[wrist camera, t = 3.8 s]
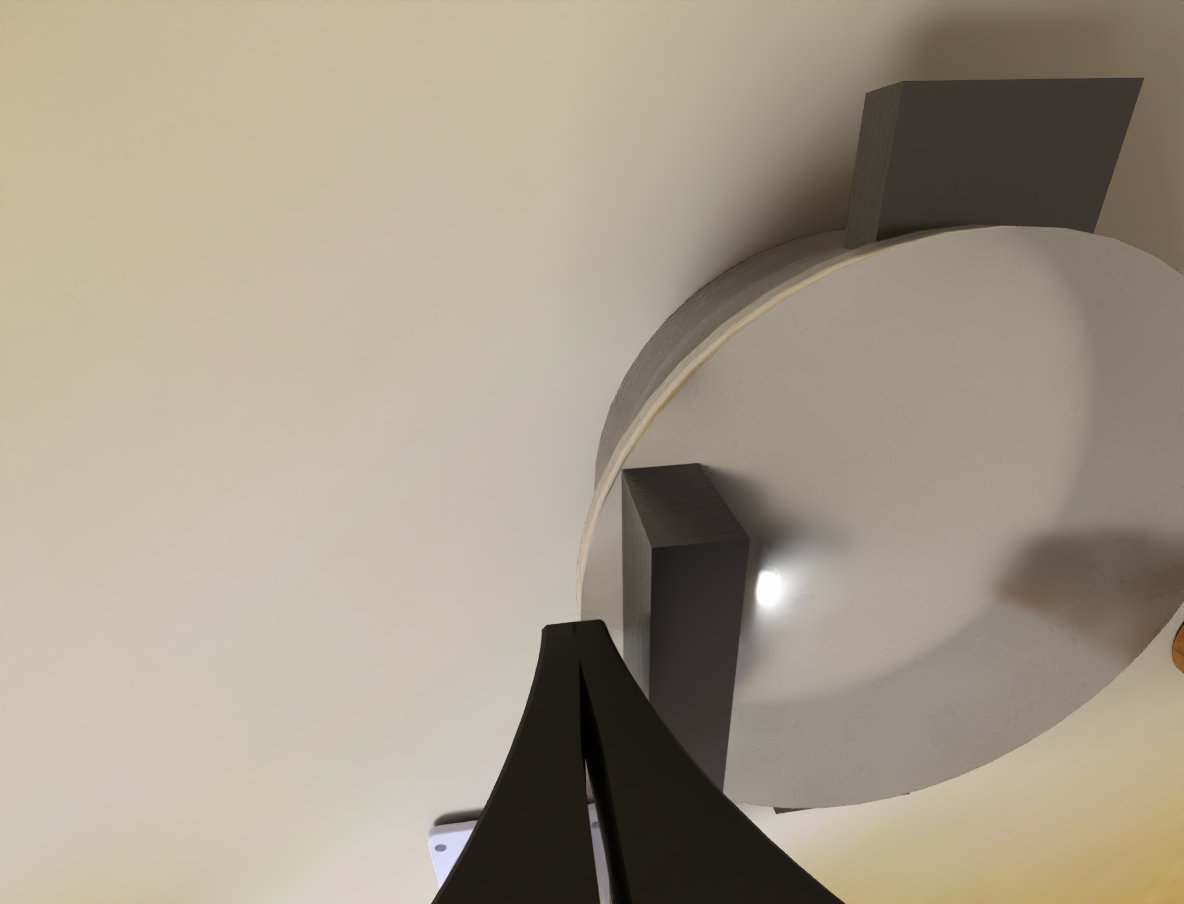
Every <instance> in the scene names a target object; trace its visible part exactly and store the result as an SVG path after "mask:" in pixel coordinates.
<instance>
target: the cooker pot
mask: <svg viewBox="0 0 1184 904" xmlns="http://www.w3.org/2000/svg"><path fill="white" fill-rule="evenodd" d="M1143 80H1144V78H1089V79H1020V80H950V81H902V82H899V83H896V84H893V85H890V86H887V87H883V88H880V89H877V90H874V91H871V92H868V93H866V98H865V104H864V111H863V117H862V124H861V131H860V137H859V144H858V151H857V157H856V164H855V170H854V177H853V184H852V190H851V197H850V203H849V210H848V217H847V223H846V230H837V231H829V232H822V233H819V234H815V235H811V236H807V237H803V238H799V239H796V240H792V241H789V242H786V243H784V244H781V245H779V246H776V247H774V248H771V249H769V250H766V251H764V252H761V253H759V254H756V255H754V256H753V257H751V258H749V259H747V260H746V261H744V262H742V263H740V264H738V265H737V266H735V267H733V268H731V269H730V270H728V271H726V272H724V273H723V274H721V275H720V276H719V277H717V278H716V279H714V280H713V281H712V282H710V283H709V284H708V285H706V286H705V287H704V288H702V289H701V290H699V291H698V292H697V293H695V294H694V295H693V296H692V297H691V298H690V299H689V300H687V301H686V302H685V303H684V304H683V305H682V306H681V307H680V308H679V309H678V310H677V311H676V312H675V313H674V314H673V315H672V316H670V317H669V318H668V319H667V320H666V321H665V323H664V324H663V325H662V326H661V327H660V329H659V330H658V331H657V332H656V333H655V335H654V336H653V337H652V338H651V339H650V341H649V342H648V343H647V344H646V345H645V347H644V348H643V349H642V351H641V352H640V354H639V356H638V357H637V359H636V360H635V362H634V363H633V365H632V366H631V368H630V369H629V371H628V373H627V374H626V376H625V378H624V380H623V382H622V384H621V386H620V388H619V390H618V392H617V394H616V396H615V398H614V400H613V402H612V405H611V407H610V410H609V413H608V416H607V419H606V422H605V425H604V428H603V431H602V434H601V439H600V444H599V449H598V455H597V460H596V469H595V491H596V488H597V485H598V483H599V481H600V479H601V477H602V475H603V473H604V471H605V469H606V467H607V465H608V463H609V461H610V459H611V457H612V455H613V453H614V451H615V449H616V447H617V445H618V443H619V441H620V440H621V438H622V437H623V435H624V434H625V432H626V431H627V429H628V428H629V426H630V425H631V423H632V422H633V420H634V419H635V417H636V416H637V414H638V413H639V411H640V410H641V408H642V407H643V405H644V404H645V402H646V401H647V400H648V399H649V398H650V396H651V395H652V394H653V393H654V392H655V391H656V390H657V388H658V387H659V386H660V385H661V384H662V383H663V381H664V380H665V379H666V378H667V377H668V376H669V375H670V373H671V372H672V371H673V370H674V369H675V368H676V366H677V365H678V364H679V363H680V362H681V361H682V360H683V359H684V358H685V357H686V356H687V355H689V354H690V353H691V352H692V351H693V350H694V349H695V348H696V347H697V346H698V345H699V344H701V343H702V342H703V341H704V340H705V339H706V338H707V337H708V336H709V335H710V334H712V333H713V332H714V331H715V330H716V329H717V328H718V327H719V326H720V325H722V324H723V323H724V322H726V321H727V320H729V319H730V318H731V317H733V316H734V315H736V314H737V313H738V312H740V311H741V310H742V309H744V308H745V307H747V306H748V305H749V304H751V303H752V302H754V301H755V300H756V299H758V298H759V297H761V296H762V295H763V294H765V293H766V292H768V291H770V290H772V289H773V288H775V287H777V286H779V285H781V284H782V283H784V282H786V281H788V280H790V279H791V278H793V277H795V276H797V275H799V274H800V273H802V272H804V271H806V270H808V269H810V268H811V267H813V266H815V265H817V264H820V263H822V262H825V261H827V260H829V259H832V258H834V257H837V256H839V255H842V254H844V253H847V252H849V251H852V250H854V249H857V248H859V247H862V246H864V245H867V244H870V243H874V242H878V241H881V240H885V239H889V238H893V237H897V236H901V235H905V234H908V233H912V232H916V231H920V230H928V229H936V228H945V227H954V226H962V225H971V224H976V225H1004V226H1030V227H1052V228H1067V229H1072V230H1077V231H1082V232H1086V233H1091V234H1093V232H1094V229H1095V226H1096V223H1097V220H1098V217H1099V214H1100V211H1101V208H1102V205H1103V202H1104V199H1105V196H1106V193H1107V189H1108V186H1109V183H1110V180H1111V177H1112V174H1113V171H1114V168H1115V165H1116V162H1117V159H1118V156H1119V153H1120V150H1121V147H1122V144H1123V141H1124V138H1125V135H1126V132H1127V129H1128V125H1129V122H1130V119H1131V116H1132V113H1133V110H1134V107H1135V104H1136V101H1137V98H1138V95H1139V92H1140V89H1141V86H1142V83H1143ZM907 794H909V793H907ZM903 795H906V794H903ZM773 808H774V810H775V813H776V814H779V813H785V812H792V811H799V810H806V809H812V808H781V807H773Z"/></svg>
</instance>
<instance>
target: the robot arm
mask: <svg viewBox="0 0 1184 904" xmlns="http://www.w3.org/2000/svg"><path fill="white" fill-rule="evenodd" d="M585 759H586V764H587V769H588V774H589V779H590V784H591V789H592V794H593V798H594V803H593V804H588V803H587V795H586V766H585ZM428 845H429V849H430V853H431V857H432V861H433V864H434V868H435V872H436V876H437V880H438V884H439V888H440V890H439V891H438V893H437V895H436V897H435V898H434V900H433V902H432V903H431V904H610V898H609V884H610V893H611V901H612V904H845V903H844V902H843V901H841V900H840V899H839V898H838V897H836V896H835V895H834V894H833V893H831V892H830V891H829V890H828V889H826V888H825V887H824V886H823V885H822V884H820V883H819V882H818V881H817V880H816V879H815V878H813V877H812V876H811V875H810V874H809V873H807V872H806V871H805V870H804V869H803V868H802V867H800V866H799V865H798V864H797V863H796V862H795V861H794V860H792V859H791V858H790V857H789V856H788V855H787V854H786V853H785V852H784V851H782V850H781V849H780V848H779V847H778V846H777V845H776V844H775V843H774V842H772V841H771V840H770V839H769V838H768V837H767V836H766V835H765V834H764V833H763V832H762V831H761V830H760V829H759V828H758V827H757V826H756V825H755V824H754V823H753V822H752V821H751V820H750V819H749V818H748V817H747V816H746V815H745V814H744V813H743V812H742V811H741V810H740V809H739V808H738V807H737V806H736V805H735V804H734V803H733V802H732V801H731V800H730V799H729V798H728V797H727V796H726V795H725V794H724V793H723V792H722V791H721V790H720V789H719V788H718V787H717V786H716V785H715V783H714V782H713V781H712V780H711V779H710V778H709V777H708V776H707V775H706V774H705V772H704V771H703V770H702V769H701V768H700V767H699V765H698V764H697V763H696V762H695V761H694V760H693V758H692V757H691V756H690V755H689V754H688V753H687V751H686V750H685V749H684V748H683V746H682V745H681V744H680V743H679V741H678V740H677V739H676V738H675V736H674V735H673V734H672V732H671V731H670V730H669V728H668V727H667V726H666V724H665V723H664V722H663V720H662V719H661V718H660V716H659V715H658V714H657V712H656V711H655V709H654V708H653V706H652V705H651V704H650V702H649V701H648V699H647V698H646V696H645V695H644V693H643V691H642V690H641V688H640V687H639V685H638V684H637V682H636V681H635V679H634V678H633V676H632V674H631V673H630V671H629V669H628V668H627V666H626V664H625V662H624V661H623V659H622V657H621V655H620V654H619V652H618V650H617V648H616V646H615V644H614V642H613V640H612V638H611V636H610V633H609V631H608V629H607V626H606V623H605V622H604V621H602V620H601V619H595V620H586V621H577V622H569V623H560V624H551V625H546V626H545V627H544V628H543V629H542V639H541V647H540V653H539V659H538V663H537V667H536V672H535V676H534V680H533V683H532V686H531V690H530V693H529V697H528V700H527V703H526V707H525V710H524V713H523V716H522V719H521V721H520V724H519V727H518V729H517V732H516V735H515V738H514V740H513V743H512V746H511V748H510V751H509V753H508V756H507V758H506V761H505V763H504V766H503V768H502V770H501V773H500V775H499V777H498V779H497V782H496V784H495V786H494V788H493V790H492V793H491V795H490V797H489V799H488V801H487V803H486V805H485V807H484V809H483V811H482V813H481V815H480V817H479V819H478V820H474V821H467V822H460V823H453V824H446V825H439V826H435V827H433V828H432V829H431V830H430V831H429V834H428Z"/></svg>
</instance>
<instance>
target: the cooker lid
mask: <svg viewBox="0 0 1184 904" xmlns="http://www.w3.org/2000/svg"><path fill="white" fill-rule="evenodd" d="M576 600H577V607H578V615H579V621H586V620H595V619H601V620H602V621H604V622H605V623H606V626H607V629H608V631H609V633H610V636H611V638H612V640H613V642H614V644H615V646H616V648H617V650H618V652H619V654H620V655H621V657H622V659H623V661H624V662H625V664H626V666H627V668H628V669H629V671H630V673H631V674H632V676H633V678H634V679H635V681H636V682H637V684H638V685H639V687H640V688H641V690H642V691H643V693H644V695H645V696H646V698H647V699H648V701H649V702H650V704H651V705H652V706H653V708H654V709H655V711H656V712H657V714H658V715H659V716H660V718H661V719H662V720H663V722H664V723H665V724H666V726H667V727H668V728H669V730H670V731H671V732H672V734H673V735H674V736H675V738H676V739H677V740H678V741H679V743H680V744H681V745H682V746H683V748H684V749H685V750H686V751H687V753H688V754H689V755H690V756H691V757H692V758H693V760H694V761H695V762H696V763H697V764H698V765H699V767H700V768H701V769H702V770H703V771H704V772H705V774H706V775H707V776H708V777H709V778H710V779H711V780H712V781H713V782H714V783H715V785H716V786H717V787H718V788H719V789H720V790H721V791H722V792H723V793H724V794H725V795H726V796H727V797H728V798H729V799H730V800H732V801H737V802H742V803H748V804H753V805H758V806H768V807H781V808H828V807H837V806H846V805H856V804H861V803H867V802H872V801H877V800H882V799H888V798H892V797H896V796H899V795H903V794H907V793H910V792H914V791H918V790H921V789H925V788H927V787H930V786H933V785H936V784H939V783H941V782H944V781H947V780H950V779H953V778H955V777H958V776H960V775H963V774H965V773H967V772H969V771H972V770H974V769H976V768H979V767H981V766H983V765H985V764H988V763H990V762H992V761H994V760H996V759H998V758H999V757H1001V756H1003V755H1005V754H1007V753H1009V752H1011V751H1013V750H1015V749H1017V748H1018V747H1020V746H1022V745H1024V744H1026V743H1027V742H1029V741H1030V740H1032V739H1034V738H1035V737H1037V736H1038V735H1040V734H1042V733H1043V732H1045V731H1047V730H1048V729H1050V728H1051V727H1053V726H1055V725H1056V724H1057V723H1059V722H1060V721H1062V720H1063V719H1064V718H1066V717H1067V716H1068V715H1070V714H1071V713H1073V712H1074V711H1075V710H1077V709H1078V708H1080V707H1081V706H1082V705H1084V704H1085V703H1086V702H1087V701H1089V700H1090V699H1091V698H1092V697H1093V696H1095V695H1096V694H1097V693H1098V692H1099V691H1101V690H1102V689H1103V688H1104V687H1105V686H1107V685H1108V684H1109V683H1110V682H1111V681H1113V680H1114V679H1115V678H1116V677H1117V676H1118V675H1119V674H1120V673H1121V672H1122V671H1123V670H1124V669H1125V668H1126V667H1127V666H1128V665H1129V664H1130V663H1131V662H1132V661H1133V660H1134V659H1135V658H1136V657H1137V656H1139V655H1140V654H1141V653H1142V652H1143V650H1144V649H1145V648H1146V647H1147V646H1148V645H1149V644H1150V642H1151V641H1152V640H1153V639H1154V638H1155V637H1156V636H1157V634H1158V633H1159V632H1160V631H1161V630H1162V629H1163V628H1164V627H1165V625H1166V624H1167V623H1168V622H1169V621H1170V619H1171V618H1172V616H1173V615H1174V614H1175V612H1176V611H1177V610H1178V608H1179V607H1180V606H1181V604H1182V603H1183V602H1184V275H1182V274H1181V273H1179V272H1178V271H1176V270H1175V269H1174V268H1172V267H1171V266H1169V265H1168V264H1166V263H1165V262H1163V261H1162V260H1160V259H1159V258H1158V257H1156V256H1155V255H1153V254H1150V253H1148V252H1145V251H1143V250H1141V249H1138V248H1136V247H1133V246H1131V245H1129V244H1126V243H1124V242H1121V241H1119V240H1117V239H1114V238H1111V237H1106V236H1101V235H1096V234H1091V233H1086V232H1082V231H1077V230H1072V229H1067V228H1052V227H1030V226H1004V225H976V224H971V225H962V226H954V227H945V228H936V229H928V230H920V231H916V232H912V233H908V234H905V235H901V236H897V237H893V238H889V239H885V240H881V241H878V242H874V243H870V244H867V245H864V246H862V247H859V248H857V249H854V250H852V251H849V252H847V253H844V254H842V255H839V256H837V257H834V258H832V259H829V260H827V261H825V262H822V263H820V264H817V265H815V266H813V267H811V268H810V269H808V270H806V271H804V272H802V273H800V274H799V275H797V276H795V277H793V278H791V279H790V280H788V281H786V282H784V283H782V284H781V285H779V286H777V287H775V288H773V289H772V290H770V291H768V292H766V293H765V294H763V295H762V296H761V297H759V298H758V299H756V300H755V301H754V302H752V303H751V304H749V305H748V306H747V307H745V308H744V309H742V310H741V311H740V312H738V313H737V314H736V315H734V316H733V317H731V318H730V319H729V320H727V321H726V322H724V323H723V324H722V325H720V326H719V327H718V328H717V329H716V330H715V331H714V332H713V333H712V334H710V335H709V336H708V337H707V338H706V339H705V340H704V341H703V342H702V343H701V344H699V345H698V346H697V347H696V348H695V349H694V350H693V351H692V352H691V353H690V354H689V355H687V356H686V357H685V358H684V359H683V360H682V361H681V362H680V363H679V364H678V365H677V366H676V368H675V369H674V370H673V371H672V372H671V373H670V375H669V376H668V377H667V378H666V379H665V380H664V381H663V383H662V384H661V385H660V386H659V387H658V388H657V390H656V391H655V392H654V393H653V394H652V395H651V396H650V398H649V399H648V400H647V401H646V402H645V404H644V405H643V407H642V408H641V410H640V411H639V413H638V414H637V416H636V417H635V419H634V420H633V422H632V423H631V425H630V426H629V428H628V429H627V431H626V432H625V434H624V435H623V437H622V438H621V440H620V441H619V443H618V445H617V447H616V449H615V451H614V453H613V455H612V457H611V459H610V461H609V463H608V465H607V467H606V469H605V471H604V473H603V475H602V477H601V479H600V481H599V483H598V485H597V488H596V491H595V494H594V497H593V500H592V503H591V506H590V509H589V512H588V515H587V518H586V521H585V524H584V529H583V534H582V540H581V545H580V551H579V556H578V562H577V592H576Z"/></svg>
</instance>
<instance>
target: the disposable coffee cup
mask: <svg viewBox="0 0 1184 904" xmlns="http://www.w3.org/2000/svg"><path fill="white" fill-rule="evenodd" d="M1172 657H1173V662H1174V664H1175V665H1176V667H1177V668H1178V669H1179V670H1181V671H1182V672H1183V673H1184V625H1183V626H1182V628H1181V630H1180V631H1179V633H1178V635H1177V637H1176V639H1175V642H1174V645H1173V652H1172Z"/></svg>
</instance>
